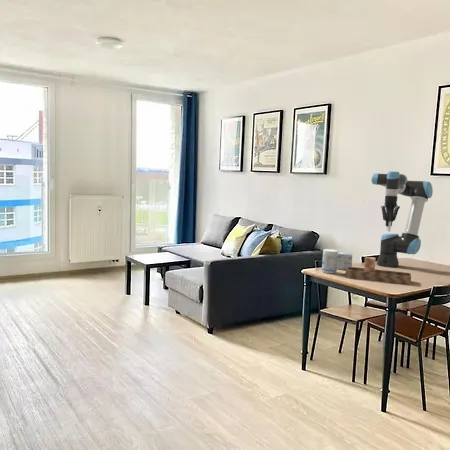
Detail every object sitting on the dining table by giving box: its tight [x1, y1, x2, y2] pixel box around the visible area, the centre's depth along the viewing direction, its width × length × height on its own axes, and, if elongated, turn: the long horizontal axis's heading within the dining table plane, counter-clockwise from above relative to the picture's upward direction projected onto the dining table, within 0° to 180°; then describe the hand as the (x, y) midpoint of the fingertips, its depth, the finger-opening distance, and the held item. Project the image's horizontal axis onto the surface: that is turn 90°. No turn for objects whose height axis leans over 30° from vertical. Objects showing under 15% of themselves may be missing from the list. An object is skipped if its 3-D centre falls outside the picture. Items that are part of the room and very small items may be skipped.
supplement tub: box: [321, 248, 339, 275], centre depth 312 cm, size 10×10×15 cm
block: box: [363, 256, 377, 273], centre depth 298 cm, size 6×6×10 cm
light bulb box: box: [337, 252, 353, 271], centre depth 327 cm, size 11×7×11 cm, turn 84°
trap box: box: [345, 266, 412, 286], centre depth 297 cm, size 38×12×5 cm, turn 70°
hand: (388, 231), depth 312 cm, fingers closed
